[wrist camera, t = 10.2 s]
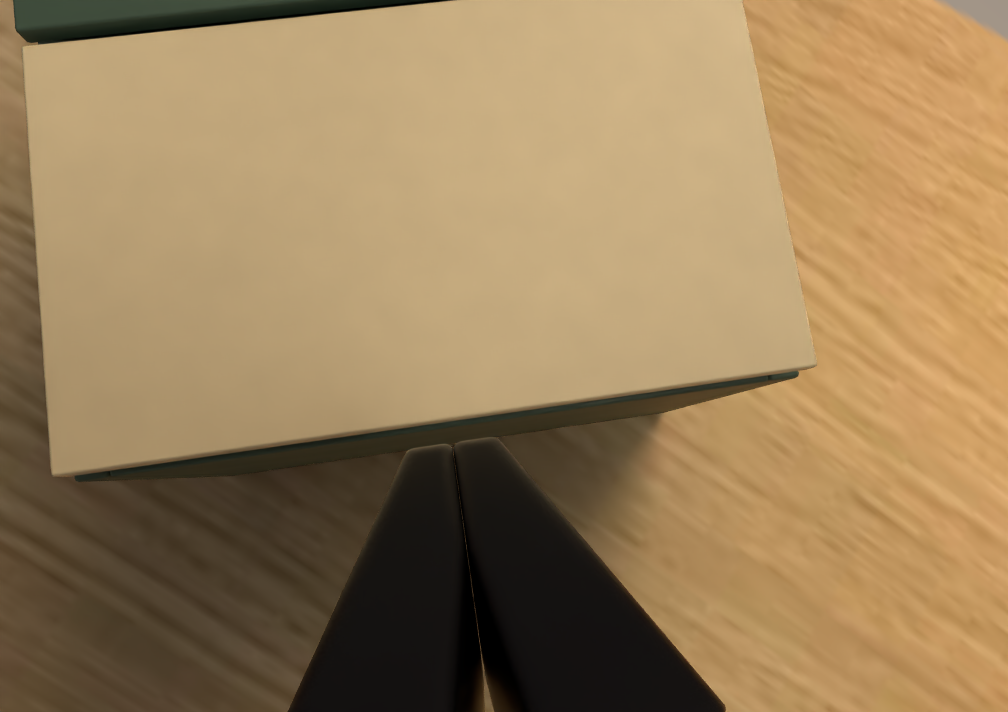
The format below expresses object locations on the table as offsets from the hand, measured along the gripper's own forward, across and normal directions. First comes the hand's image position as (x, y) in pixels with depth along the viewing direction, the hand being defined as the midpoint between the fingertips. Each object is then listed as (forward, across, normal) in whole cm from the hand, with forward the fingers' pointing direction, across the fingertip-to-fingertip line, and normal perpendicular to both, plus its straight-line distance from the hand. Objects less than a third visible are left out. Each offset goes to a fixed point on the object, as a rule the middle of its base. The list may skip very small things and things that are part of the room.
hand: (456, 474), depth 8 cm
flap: (+6, 0, 0) cm, 6 cm away
